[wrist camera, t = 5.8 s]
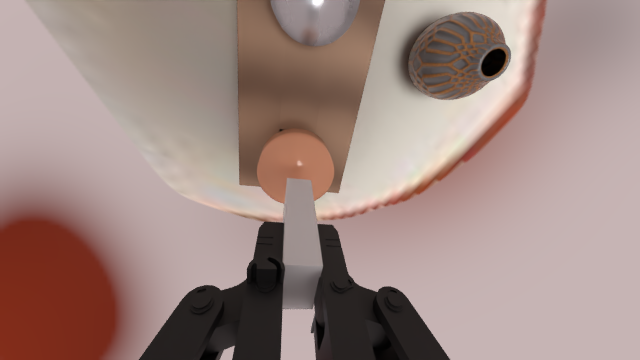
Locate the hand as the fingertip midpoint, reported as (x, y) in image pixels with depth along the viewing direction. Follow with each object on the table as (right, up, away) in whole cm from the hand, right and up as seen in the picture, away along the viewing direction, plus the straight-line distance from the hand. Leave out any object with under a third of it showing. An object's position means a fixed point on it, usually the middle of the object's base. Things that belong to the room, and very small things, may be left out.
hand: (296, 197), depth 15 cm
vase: (+13, +14, +9) cm, 21 cm away
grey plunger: (+1, +16, +5) cm, 17 cm away
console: (0, +12, +9) cm, 15 cm away
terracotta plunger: (-1, +5, +8) cm, 9 cm away
